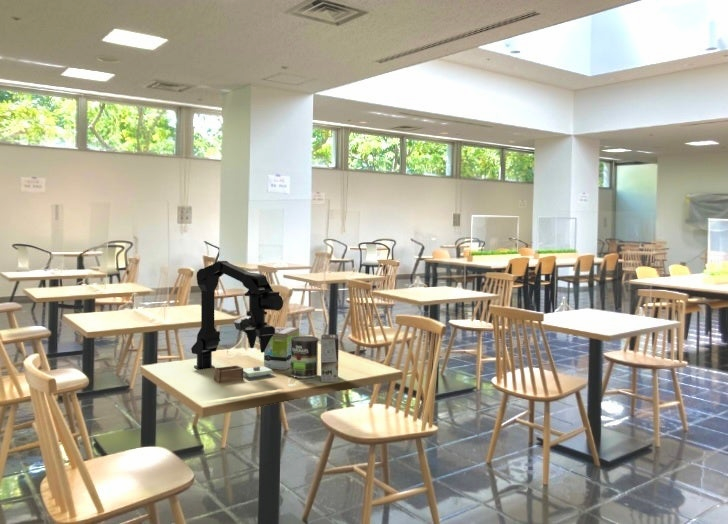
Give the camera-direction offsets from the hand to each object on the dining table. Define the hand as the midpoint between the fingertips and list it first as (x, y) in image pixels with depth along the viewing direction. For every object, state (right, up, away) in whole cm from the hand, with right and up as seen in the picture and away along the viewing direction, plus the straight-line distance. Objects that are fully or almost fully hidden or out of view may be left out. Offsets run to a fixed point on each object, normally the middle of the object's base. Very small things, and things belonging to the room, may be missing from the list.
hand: (257, 350), depth 221 cm
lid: (0, -10, +1) cm, 10 cm away
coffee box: (+27, -11, 0) cm, 29 cm away
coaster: (0, -10, +1) cm, 10 cm away
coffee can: (+17, -11, +6) cm, 21 cm away
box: (-9, -11, -6) cm, 15 cm away
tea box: (+6, -9, +21) cm, 24 cm away
